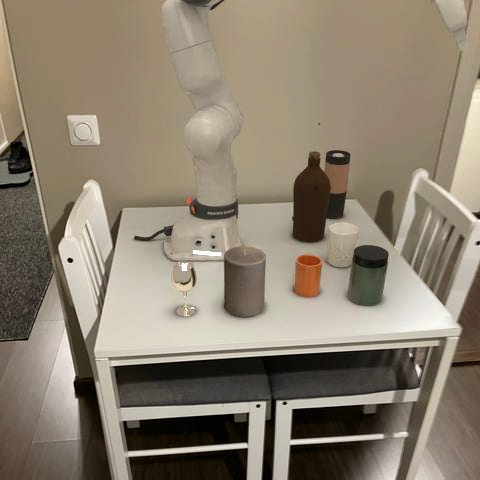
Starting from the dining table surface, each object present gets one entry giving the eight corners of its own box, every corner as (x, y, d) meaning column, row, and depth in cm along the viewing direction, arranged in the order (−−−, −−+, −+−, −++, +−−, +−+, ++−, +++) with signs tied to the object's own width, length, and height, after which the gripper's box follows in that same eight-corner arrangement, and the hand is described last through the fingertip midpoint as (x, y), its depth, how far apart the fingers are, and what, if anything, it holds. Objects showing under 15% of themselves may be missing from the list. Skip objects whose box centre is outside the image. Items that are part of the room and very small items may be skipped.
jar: (355, 307, 132) (361, 264, 125) (342, 290, 138) (347, 248, 132) (387, 303, 133) (395, 260, 127) (373, 286, 140) (379, 245, 134)
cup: (298, 298, 135) (300, 267, 130) (290, 285, 140) (292, 255, 136) (322, 295, 136) (325, 264, 132) (314, 283, 141) (317, 253, 137)
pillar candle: (215, 307, 131) (214, 250, 123) (242, 292, 138) (242, 236, 129) (247, 322, 126) (248, 263, 118) (273, 305, 132) (275, 248, 124)
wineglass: (178, 319, 127) (174, 273, 120) (170, 307, 131) (167, 262, 125) (201, 314, 129) (199, 269, 122) (193, 302, 133) (191, 258, 127)
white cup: (353, 270, 148) (358, 235, 142) (324, 267, 149) (327, 233, 143) (354, 257, 154) (359, 223, 149) (326, 254, 155) (329, 221, 150)
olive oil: (333, 238, 165) (342, 154, 151) (306, 247, 159) (313, 161, 146) (309, 226, 172) (315, 145, 158) (283, 234, 167) (287, 151, 153)
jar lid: (361, 269, 126) (362, 261, 125) (347, 254, 133) (348, 246, 132) (393, 265, 128) (394, 258, 127) (378, 250, 134) (379, 243, 133)
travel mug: (317, 210, 182) (323, 150, 171) (340, 210, 183) (347, 149, 172) (323, 220, 176) (329, 157, 165) (346, 219, 177) (354, 156, 166)
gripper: (426, -15, 122) (446, 47, 127) (426, -11, 105) (449, 60, 111) (455, -31, 119) (474, 34, 124) (460, -29, 103) (482, 45, 108)
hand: (463, 46), depth 117 cm, fingers open, 8 cm apart
